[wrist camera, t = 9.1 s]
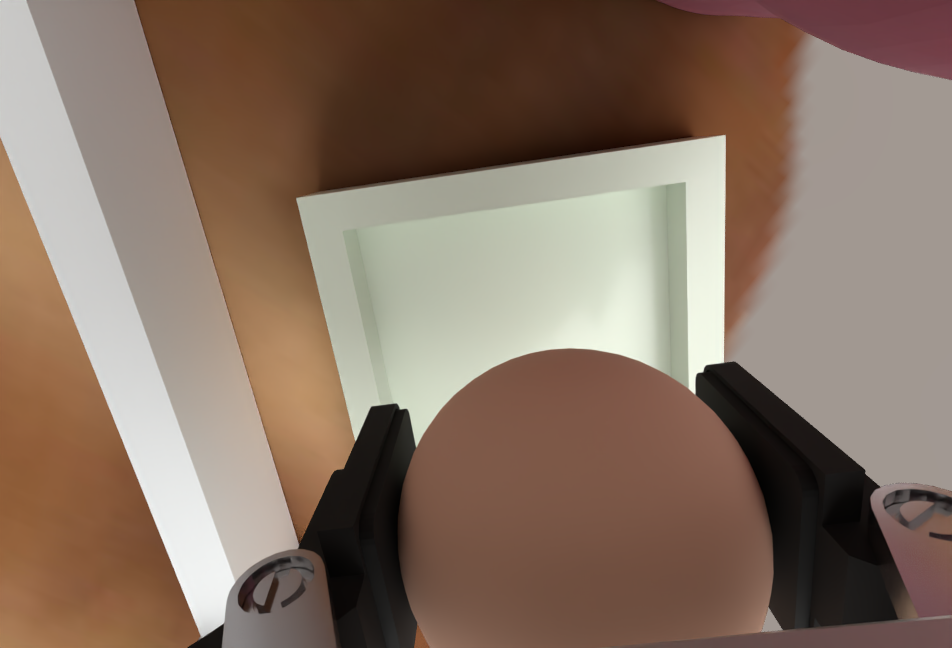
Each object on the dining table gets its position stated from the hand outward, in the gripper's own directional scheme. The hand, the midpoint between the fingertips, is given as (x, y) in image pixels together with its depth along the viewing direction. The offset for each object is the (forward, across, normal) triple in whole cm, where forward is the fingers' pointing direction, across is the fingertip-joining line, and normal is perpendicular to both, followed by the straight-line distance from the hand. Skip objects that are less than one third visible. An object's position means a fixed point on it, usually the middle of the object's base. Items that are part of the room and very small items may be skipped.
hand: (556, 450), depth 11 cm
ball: (+1, 0, 0) cm, 1 cm away
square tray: (+6, 0, 0) cm, 6 cm away
